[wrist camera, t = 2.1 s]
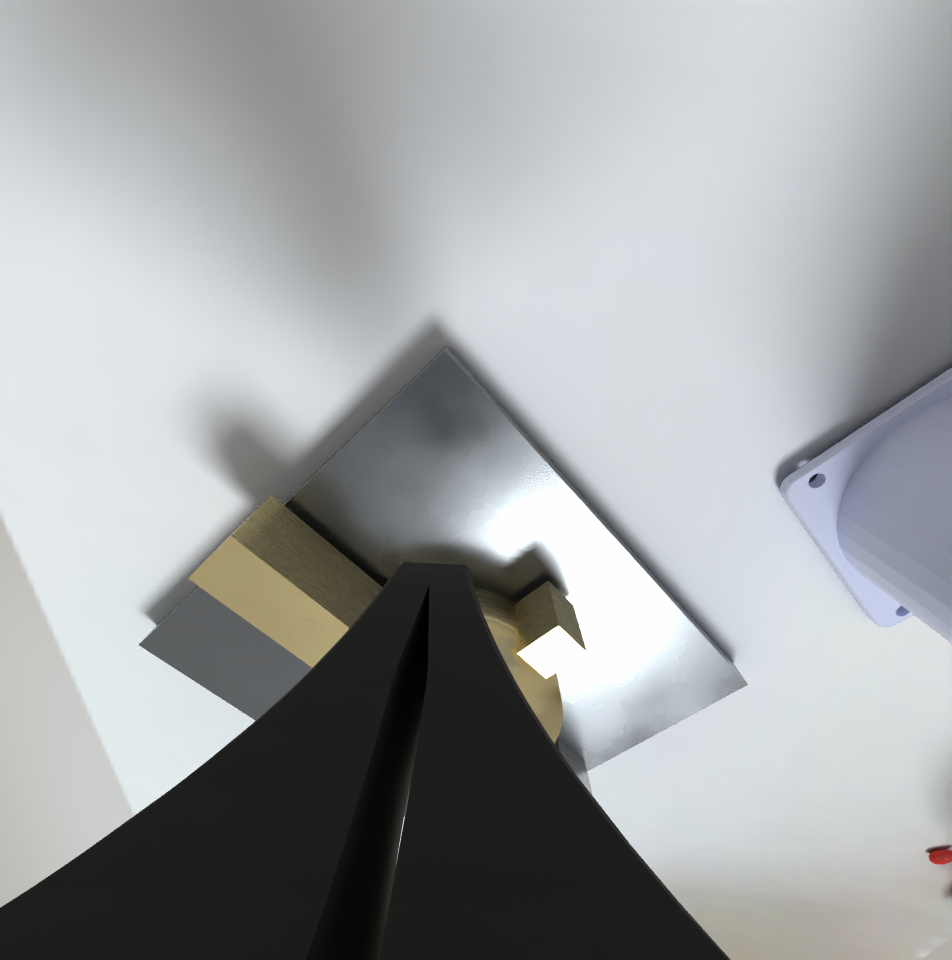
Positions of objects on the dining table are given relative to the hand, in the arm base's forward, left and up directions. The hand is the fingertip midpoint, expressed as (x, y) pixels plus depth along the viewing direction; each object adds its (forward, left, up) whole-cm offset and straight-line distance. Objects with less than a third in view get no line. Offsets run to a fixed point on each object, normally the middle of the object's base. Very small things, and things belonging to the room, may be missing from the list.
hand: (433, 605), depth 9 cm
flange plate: (+5, +5, -7) cm, 10 cm away
